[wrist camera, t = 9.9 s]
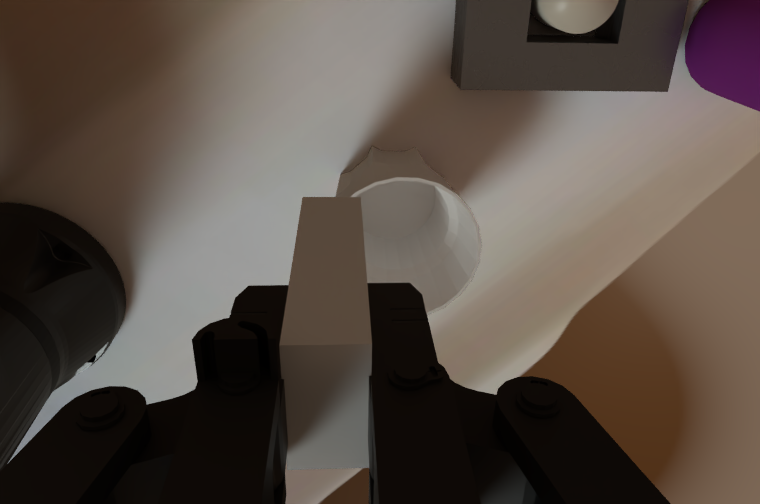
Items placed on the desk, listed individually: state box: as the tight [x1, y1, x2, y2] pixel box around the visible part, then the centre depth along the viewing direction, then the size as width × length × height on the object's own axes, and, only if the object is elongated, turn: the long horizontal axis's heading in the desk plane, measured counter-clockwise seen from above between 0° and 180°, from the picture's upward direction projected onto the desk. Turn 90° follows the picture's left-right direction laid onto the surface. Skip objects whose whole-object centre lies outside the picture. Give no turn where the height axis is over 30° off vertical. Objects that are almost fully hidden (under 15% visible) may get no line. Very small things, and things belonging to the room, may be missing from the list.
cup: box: [336, 146, 482, 316], centre depth 43 cm, size 10×10×10 cm
